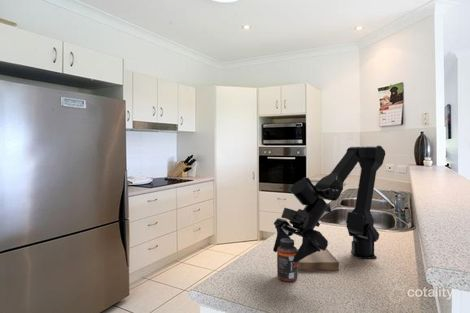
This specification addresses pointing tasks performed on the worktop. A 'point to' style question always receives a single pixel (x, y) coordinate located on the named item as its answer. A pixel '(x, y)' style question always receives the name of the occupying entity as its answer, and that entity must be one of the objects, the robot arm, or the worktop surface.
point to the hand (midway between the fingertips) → (283, 256)
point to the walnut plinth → (319, 261)
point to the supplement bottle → (287, 260)
